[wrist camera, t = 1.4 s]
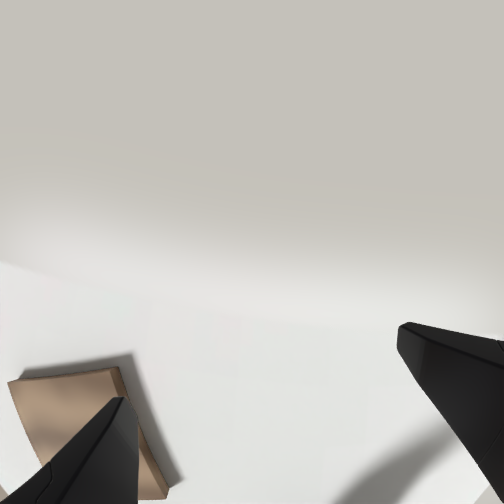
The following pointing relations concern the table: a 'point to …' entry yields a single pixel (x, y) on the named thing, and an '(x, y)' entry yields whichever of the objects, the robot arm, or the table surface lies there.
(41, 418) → the brown wooden square board
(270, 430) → the table surface
